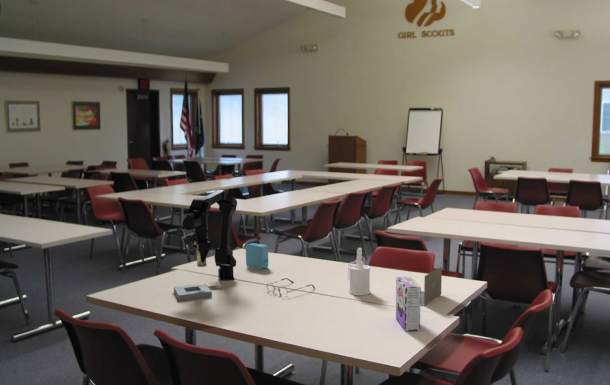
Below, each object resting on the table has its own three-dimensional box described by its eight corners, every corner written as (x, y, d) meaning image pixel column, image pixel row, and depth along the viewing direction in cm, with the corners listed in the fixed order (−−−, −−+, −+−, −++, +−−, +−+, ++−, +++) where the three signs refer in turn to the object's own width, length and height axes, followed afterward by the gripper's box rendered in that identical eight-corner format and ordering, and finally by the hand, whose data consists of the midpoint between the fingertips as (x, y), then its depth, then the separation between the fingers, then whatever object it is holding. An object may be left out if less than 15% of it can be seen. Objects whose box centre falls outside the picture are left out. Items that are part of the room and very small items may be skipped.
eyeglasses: (262, 291, 252) (262, 281, 252) (291, 283, 266) (291, 272, 265) (288, 299, 242) (288, 287, 241) (317, 289, 255) (317, 278, 255)
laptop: (414, 291, 251) (414, 262, 249) (441, 296, 243) (442, 266, 242) (396, 302, 236) (396, 271, 234) (425, 307, 229) (425, 276, 227)
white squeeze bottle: (374, 292, 249) (374, 247, 246) (361, 297, 242) (361, 251, 239) (355, 287, 256) (355, 244, 253) (342, 292, 249) (342, 247, 247)
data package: (268, 268, 293) (268, 245, 291) (262, 269, 289) (262, 246, 288) (251, 264, 300) (251, 242, 299) (245, 266, 297) (245, 243, 295)
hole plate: (205, 288, 257) (205, 282, 257) (211, 297, 244) (211, 291, 244) (174, 292, 252) (173, 286, 252) (179, 301, 239) (178, 294, 239)
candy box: (395, 318, 215) (395, 276, 213) (410, 317, 215) (410, 275, 213) (404, 331, 201) (405, 286, 199) (420, 331, 202) (421, 286, 200)
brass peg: (205, 264, 254) (205, 247, 253) (207, 266, 250) (206, 248, 250) (196, 265, 253) (196, 247, 252) (198, 267, 249) (197, 249, 248)
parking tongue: (218, 284, 263) (218, 281, 263) (221, 287, 258) (221, 284, 257) (205, 286, 261) (205, 282, 261) (208, 289, 255) (208, 286, 255)
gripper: (179, 224, 255) (179, 258, 257) (186, 231, 238) (187, 267, 240) (203, 223, 260) (204, 256, 261) (212, 229, 242) (213, 265, 244)
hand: (201, 261), depth 251 cm, fingers closed on brass peg, 4 cm apart
